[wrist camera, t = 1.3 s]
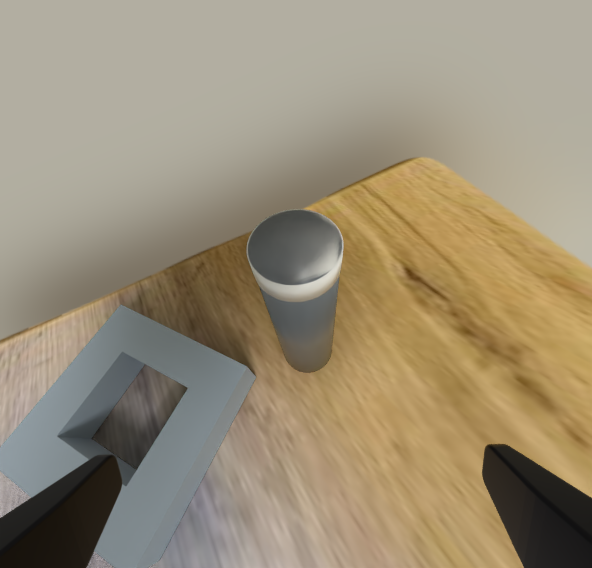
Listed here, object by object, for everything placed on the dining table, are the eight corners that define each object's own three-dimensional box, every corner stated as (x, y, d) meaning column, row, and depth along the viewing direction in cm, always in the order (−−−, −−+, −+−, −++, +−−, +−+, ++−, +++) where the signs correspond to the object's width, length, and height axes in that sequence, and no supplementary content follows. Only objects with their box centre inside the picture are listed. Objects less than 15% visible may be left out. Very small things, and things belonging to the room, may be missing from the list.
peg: (320, 381, 20) (320, 301, 10) (274, 360, 21) (228, 265, 11) (339, 336, 22) (357, 224, 11) (296, 318, 23) (274, 199, 12)
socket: (159, 560, 16) (129, 580, 14) (33, 460, 19) (-12, 461, 17) (256, 377, 21) (247, 366, 18) (142, 320, 24) (120, 304, 21)
